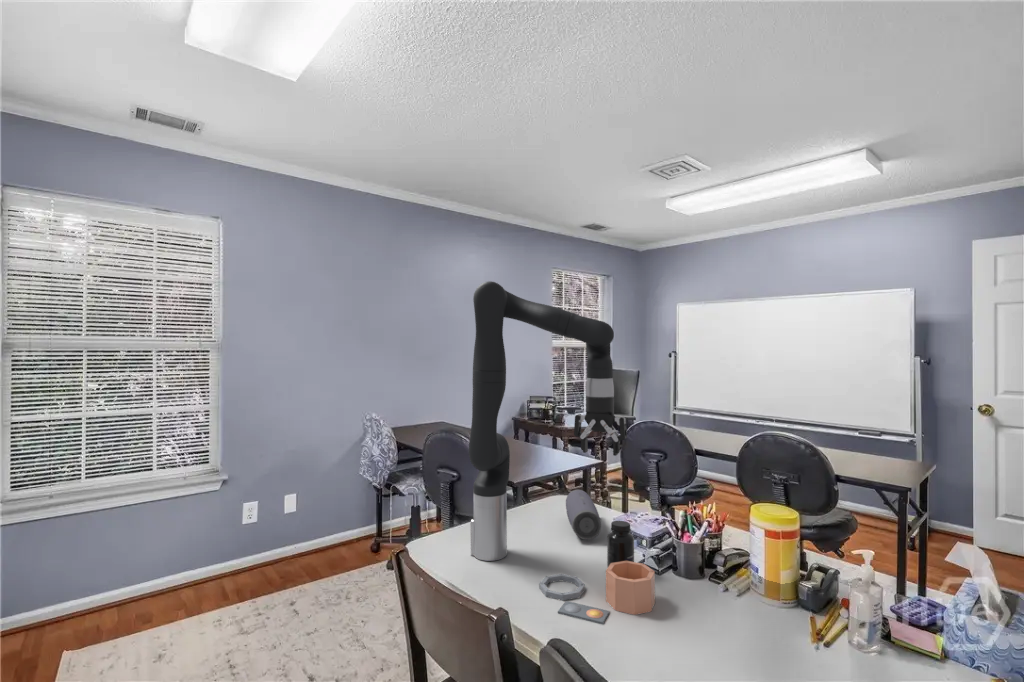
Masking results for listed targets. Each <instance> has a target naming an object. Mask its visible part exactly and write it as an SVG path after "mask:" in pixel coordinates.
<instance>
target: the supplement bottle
mask: <svg viewBox="0 0 1024 682" xmlns="http://www.w3.org/2000/svg"><path fill="white" fill-rule="evenodd" d="M606 539H607V540H606V542H607V543H606V544H607V546H606V548H607V549H606V552H607V553H606V556H607V557H606V559H607V560H606V564H607V568H608V567H609V565H610V564H611V563H615V562H621V561H631V562H635V537H634V535H633V534H632V533H631V523H630V522H628V521H625V520H613V521H611V524H610V532H609V533H608V534H607V537H606ZM607 568H606V569H607Z"/></svg>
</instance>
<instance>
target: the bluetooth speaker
mask: <svg viewBox="0 0 1024 682" xmlns="http://www.w3.org/2000/svg"><path fill="white" fill-rule="evenodd" d="M565 509H566V514H567V515H566V516H567V519H568V521H569V524H570V526H571V528H572V531H573V532H574V533H575V535H576V536H577V537H578V538H580V539H582V540H592V539H594V538H596V537H598V535H599V534H600V532H601V529H602V521H601V517H600V515H599V512H598V509H597V507H596V505H595V502H594V501H593V499H592V498H591V496H590V495H589V494H588V493H587V492H586V491H584V490H583V489H574V490H572V491H570V492H569V493H568V494H567V496H566V499H565Z"/></svg>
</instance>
